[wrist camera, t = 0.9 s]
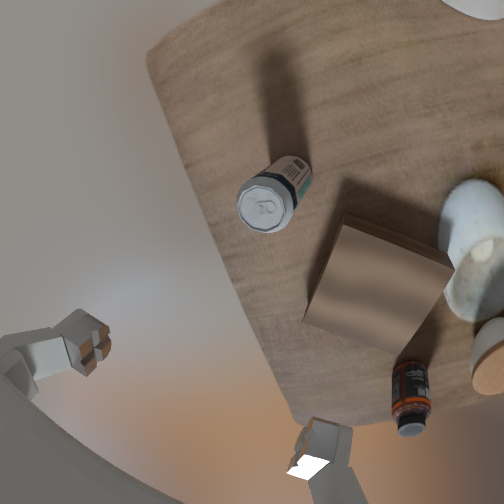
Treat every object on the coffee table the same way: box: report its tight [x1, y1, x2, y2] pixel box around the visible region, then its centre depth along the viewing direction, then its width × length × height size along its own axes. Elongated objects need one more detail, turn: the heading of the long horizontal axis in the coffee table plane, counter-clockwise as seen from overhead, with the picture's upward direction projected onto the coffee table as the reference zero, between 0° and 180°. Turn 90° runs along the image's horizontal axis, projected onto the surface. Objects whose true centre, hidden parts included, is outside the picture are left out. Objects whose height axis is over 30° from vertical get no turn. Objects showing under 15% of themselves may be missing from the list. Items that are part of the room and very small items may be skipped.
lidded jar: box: [470, 317, 504, 395], centre depth 29 cm, size 11×11×9 cm
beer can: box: [236, 156, 312, 233], centre depth 29 cm, size 5×5×12 cm
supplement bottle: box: [392, 361, 431, 437], centre depth 36 cm, size 6×6×11 cm
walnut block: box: [302, 212, 455, 355], centre depth 34 cm, size 14×14×4 cm
